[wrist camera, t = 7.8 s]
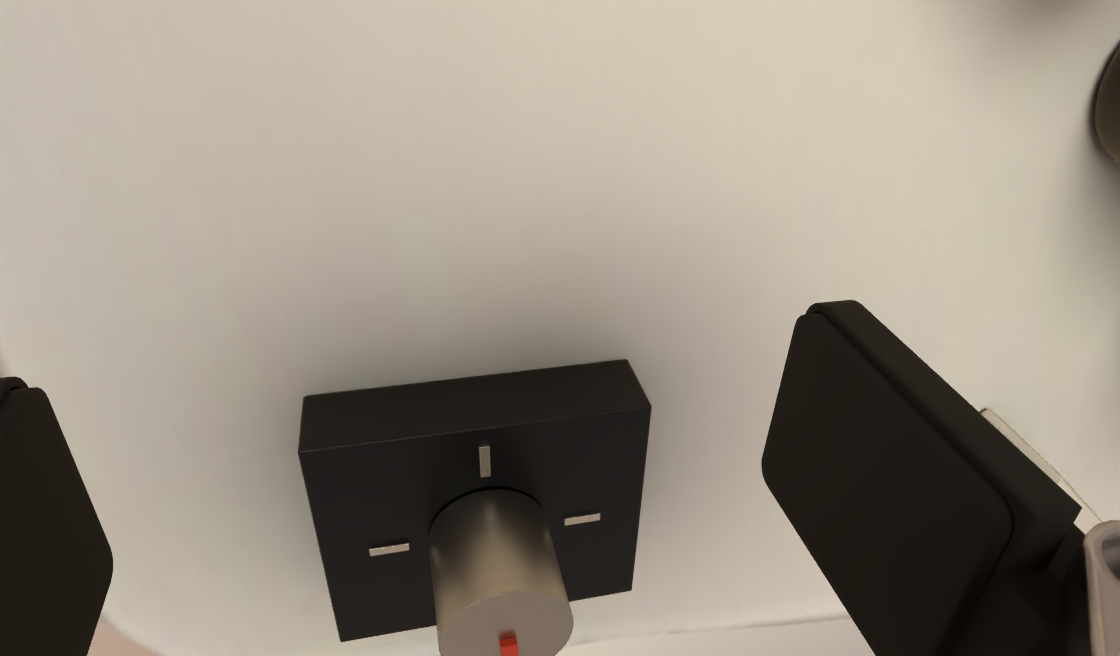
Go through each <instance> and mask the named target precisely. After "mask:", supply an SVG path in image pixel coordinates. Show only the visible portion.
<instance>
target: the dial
mask: <svg viewBox="0 0 1120 656" xmlns="http://www.w3.org/2000/svg"><path fill="white" fill-rule="evenodd" d="M428 542H429V552H430V562H431V573H432V583H433V593H434V603H435V613H436V623H437V633H438V643H439V651H440V655H441V656H555V655H556V654H557V653H558V652H559V651H560V650H561V649H562V648H563V647H564V645H565V644H566V643H567V641H568V640H569V638H570V635H571V633H572V629H573V616H572V612H571V608H570V605H569V601H568V597H567V594H566V590H565V586H564V583H563V579H562V576H561V572H560V568H559V565H558V561H557V557H556V554H555V550H554V547H553V543H552V539H551V536H550V532H549V528H548V525H547V521H546V518H545V515H544V512H543V510H542V509H541V507H540V506H539V505H538V504H537V503H536V502H535V501H534V500H533V499H532V498H530V497H528V496H526V495H524V494H522V493H519V492H516V491H511V490H502V489H493V490H484V491H479V492H475V493H472V494H469V495H466V496H464V497H462V498H460V499H458V500H456V501H454V502H453V503H451V504H450V505H448V506H447V507H446V508H445V509H444V510H443V511H441V513H440V514H439V515H438V516H437V517H436V519H435V520H434V522H433V524H432V526H431V528H430V532H429V537H428Z"/></svg>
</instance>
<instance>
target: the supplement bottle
mask: <svg viewBox="0 0 1120 656" xmlns="http://www.w3.org/2000/svg"><path fill="white" fill-rule="evenodd" d="M1095 127H1096V132H1097V136H1098V139H1099V141H1100V143H1101V145H1102V147H1103V149H1104V150H1105V151H1106V153H1107V154H1108V155H1109V156H1110V157H1111V158H1112V159H1113V160H1115V161H1116V162H1118V163H1119V164H1120V47H1119V48H1118V50H1117V51H1116V53H1115V54H1114V56H1113V58H1112V59H1111V61H1110V63H1109V65H1108V67H1107V69H1106V71H1105V74H1104V76H1103V78H1102V81H1101V84H1100V87H1099V90H1098V94H1097V99H1096V104H1095Z"/></svg>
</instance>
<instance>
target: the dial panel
mask: <svg viewBox="0 0 1120 656" xmlns="http://www.w3.org/2000/svg"><path fill="white" fill-rule="evenodd" d="M651 407H652V406H651V404H650V402H649V400H648V399H647V397H646V395H645V393H644V391H643V389H642V387H641V385H640V383H639V381H638V379H637V377H636V375H635V373H634V372H633V370H632V368H631V366H630V364H629V362H628V360H626V359H625V360H616V361H608V362H599V363H590V364H582V365H573V366H564V367H555V368H547V369H538V370H529V371H521V372H512V373H503V374H495V375H486V376H477V377H468V378H460V379H451V380H442V381H434V382H425V383H416V384H408V385H399V386H390V387H381V388H373V389H364V390H355V391H347V392H338V393H329V394H320V395H312V396H305V397H304V398H303V405H302V415H301V425H300V434H299V444H298V456H299V460H300V465H301V469H302V474H303V478H304V482H305V487H306V491H307V496H308V500H309V505H310V509H311V514H312V518H313V523H314V527H315V531H316V536H317V540H318V545H319V549H320V554H321V558H322V563H323V567H324V572H325V576H326V580H327V585H328V589H329V594H330V598H331V603H332V607H333V612H334V616H335V621H336V625H337V630H338V634H339V638H340V641H341V642H345V641H351V640H356V639H362V638H368V637H373V636H379V635H385V634H390V633H396V632H401V631H407V630H413V629H418V628H424V627H430V626H435V625H437V623H436V613H435V603H434V593H433V583H432V573H431V562H430V552H429V542H428V537H429V532H430V528H431V526H432V524H433V522H434V520H435V519H436V517H437V516H438V515H439V514H440V513H441V511H443V510H444V509H445V508H446V507H447V506H448V505H450V504H451V503H453V502H454V501H456V500H458V499H460V498H462V497H464V496H466V495H469V494H472V493H475V492H479V491H484V490H493V489H502V490H511V491H516V492H519V493H522V494H524V495H526V496H528V497H530V498H532V499H533V500H534V501H535V502H536V503H537V504H538V505H539V506H540V507H541V509H542V510H543V512H544V515H545V518H546V521H547V525H548V528H549V532H550V536H551V539H552V543H553V547H554V550H555V554H556V557H557V561H558V565H559V568H560V572H561V576H562V579H563V583H564V586H565V590H566V594H567V597H568V601H569V602H570V601H576V600H581V599H587V598H593V597H598V596H604V595H609V594H615V593H621V592H626V591H631V590H632V582H633V572H634V563H635V554H636V545H637V536H638V527H639V517H640V508H641V499H642V490H643V481H644V472H645V462H646V453H647V444H648V435H649V426H650V417H651Z"/></svg>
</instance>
